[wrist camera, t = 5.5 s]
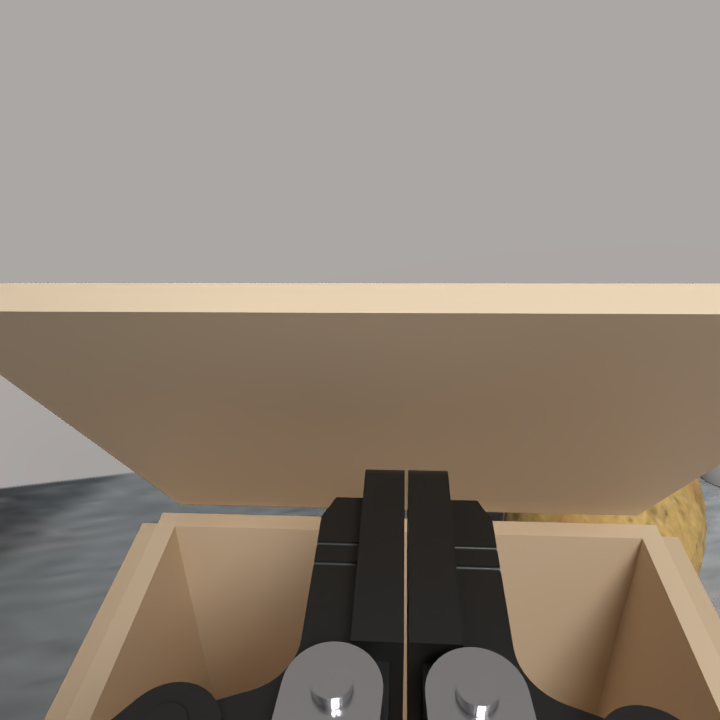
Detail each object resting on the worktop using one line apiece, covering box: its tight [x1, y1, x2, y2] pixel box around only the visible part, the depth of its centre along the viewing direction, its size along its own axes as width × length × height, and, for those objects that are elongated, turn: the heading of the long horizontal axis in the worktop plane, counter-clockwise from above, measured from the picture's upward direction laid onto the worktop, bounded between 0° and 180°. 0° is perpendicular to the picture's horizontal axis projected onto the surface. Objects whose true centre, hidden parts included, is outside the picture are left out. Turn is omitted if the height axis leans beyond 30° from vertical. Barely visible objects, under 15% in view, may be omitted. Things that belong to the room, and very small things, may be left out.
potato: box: [503, 478, 707, 575], centre depth 32 cm, size 10×14×10 cm
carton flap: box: [0, 283, 720, 516], centre depth 15 cm, size 15×13×1 cm
